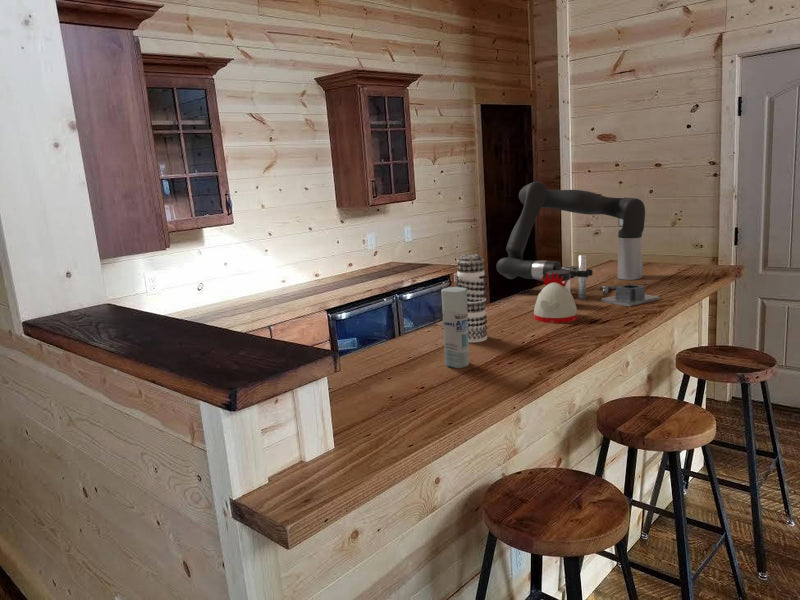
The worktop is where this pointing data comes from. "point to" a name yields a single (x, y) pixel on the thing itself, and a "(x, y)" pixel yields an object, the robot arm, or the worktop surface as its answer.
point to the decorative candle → (474, 294)
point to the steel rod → (581, 279)
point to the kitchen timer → (555, 302)
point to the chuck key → (607, 288)
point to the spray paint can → (455, 326)
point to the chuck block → (630, 296)
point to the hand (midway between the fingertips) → (590, 273)
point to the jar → (561, 273)
